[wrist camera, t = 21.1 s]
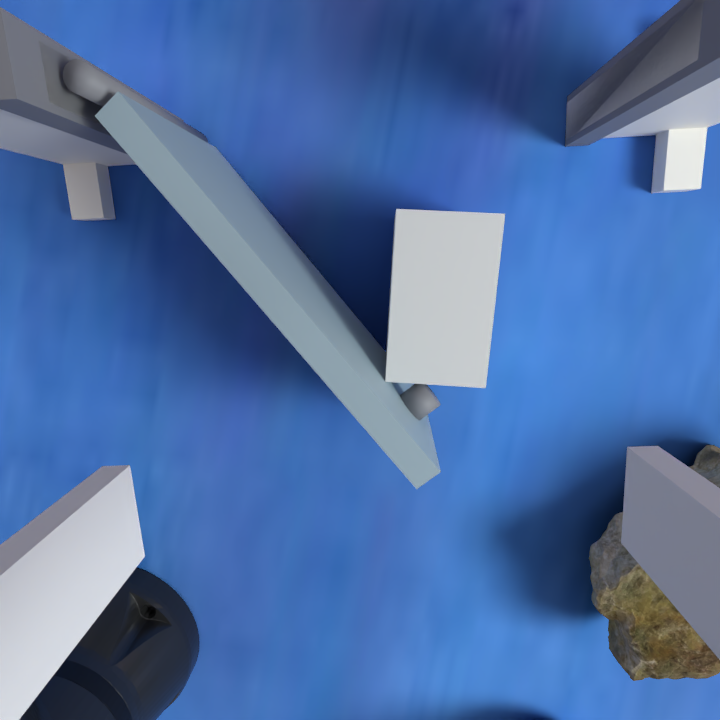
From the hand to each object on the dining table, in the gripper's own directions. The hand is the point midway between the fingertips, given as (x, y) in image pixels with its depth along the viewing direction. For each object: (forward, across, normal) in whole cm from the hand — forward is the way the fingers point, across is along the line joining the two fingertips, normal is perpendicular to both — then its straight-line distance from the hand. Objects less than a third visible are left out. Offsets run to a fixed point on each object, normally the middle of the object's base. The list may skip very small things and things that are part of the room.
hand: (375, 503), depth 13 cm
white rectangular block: (+26, +4, +4) cm, 26 cm away
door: (+25, -4, +6) cm, 26 cm away
